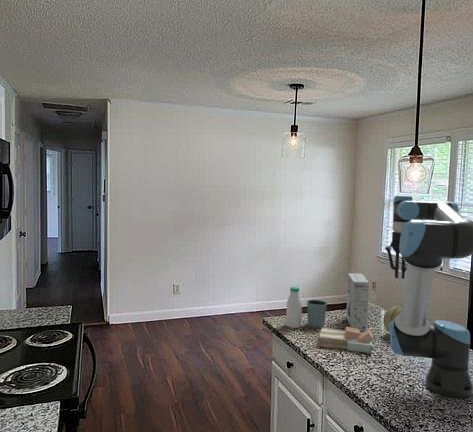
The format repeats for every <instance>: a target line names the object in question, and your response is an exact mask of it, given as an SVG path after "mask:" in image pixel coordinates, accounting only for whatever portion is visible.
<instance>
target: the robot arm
mask: <svg viewBox="0 0 473 432" xmlns="http://www.w3.org/2000/svg"><path fill="white" fill-rule="evenodd" d="M392 204H393V205H392V207H393V208H392V209H393V212H392V213H393V214H392V233H391V234H392V235H391V242H390V244H389V245H388V246H385V250H386V251H387V255H388V261H389V266H390V268H391V269H392V270H393V271H394V278H395V279H397V281H396V285H397V287H401V288H402V282H403V281H402V279H404V286H403V293H402V299H401V305H402V306H401V305H400V307H401V313H400V314H399V315H397V317H396V318H395V322H394V321H392V322H390V323H389V329H390V333H389V337H390V339H389V340H390V347H391V351H392V353H393V354H394V355H398V356H403V357H413V358H414V357H415V358H423V359H424V358H425V359H431V365H430V366H429V369H428V370H427V371H428V372H427V373H426V375H425V376H426V377H425V386H426V387H427V389H429V390H430V391H432V392H434V393H436V394H438V395H442V396H444V397H449V398H453V399H467V398H470V397H472V396H473V381H472V379H471V375H470V372H469V367H470V366H469V365H470V364H469V363H470V347H471V333H470V331H469V329H467V328H466V327H464V326H463V325H460V324H458V323H455V322H451V321H448V320H441V319H440V320H439V319H438V320H437V319H436V320H434V322H432V324H430V322H429V320H428V319H427V318H428V313H429V309H430V303H431V296H432V290H433V285H434V279H435V274H436V269H437V268H439V267H441V266H442V264H443V260H444V259H451V260H453V259H454V260H456V259H457V260H459V259H464V258H468V257H470V256H472V255H473V220H471V219H467V218H466V217H464V216H463V215H462V214H461V213H459V206H458V204H457V203H456V202H455V201H453V202H452V201H446V200H445V201H430V200H429V201H428V200H413V196H411V195H395V196H394V197H393V203H392ZM392 250H393V251H394V253H395V260H394V261H395V262H394V261H393V257H392V253H391V252H392ZM400 255H401V267H399V266H400V264H399V263H400ZM394 263H395V264H394ZM399 268H401V270H400V269H399Z"/></svg>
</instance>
